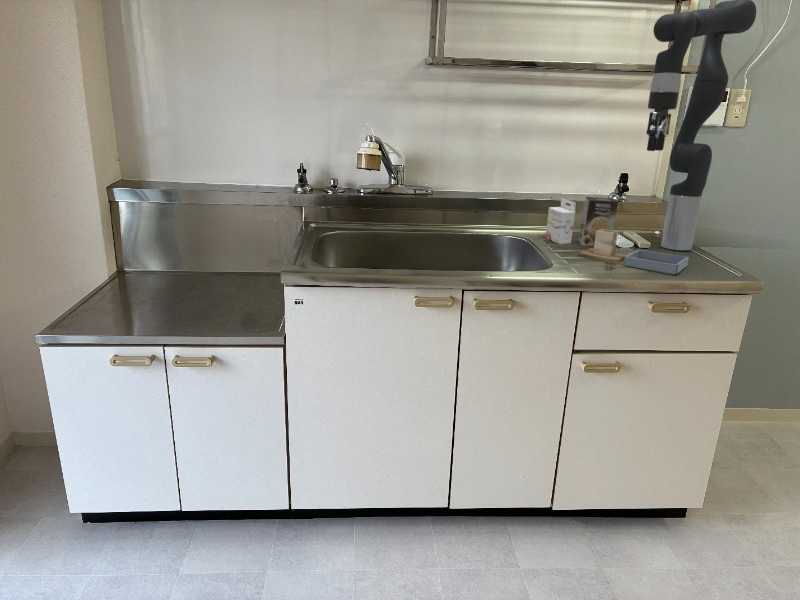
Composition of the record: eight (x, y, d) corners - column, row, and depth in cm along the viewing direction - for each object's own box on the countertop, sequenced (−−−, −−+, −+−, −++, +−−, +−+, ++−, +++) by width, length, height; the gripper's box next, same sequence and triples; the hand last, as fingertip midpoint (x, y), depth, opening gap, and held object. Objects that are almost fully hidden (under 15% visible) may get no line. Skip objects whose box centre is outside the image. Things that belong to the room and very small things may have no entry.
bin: (636, 257, 177) (638, 249, 177) (687, 265, 169) (689, 257, 168) (622, 265, 166) (623, 256, 165) (676, 274, 158) (678, 265, 157)
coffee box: (581, 248, 187) (588, 199, 181) (577, 244, 193) (584, 196, 187) (610, 250, 186) (618, 201, 181) (605, 245, 192) (613, 197, 187)
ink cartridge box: (543, 241, 196) (549, 198, 190) (555, 240, 197) (561, 197, 192) (558, 247, 188) (565, 203, 183) (571, 246, 190) (577, 202, 185)
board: (590, 251, 183) (591, 247, 183) (629, 257, 177) (629, 253, 176) (577, 257, 174) (577, 253, 174) (616, 263, 167) (617, 259, 167)
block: (598, 251, 178) (601, 228, 176) (614, 253, 176) (618, 230, 174) (593, 253, 175) (596, 230, 172) (609, 256, 172) (613, 232, 170)
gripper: (657, 92, 169) (648, 149, 173) (643, 89, 158) (634, 150, 162) (684, 92, 164) (674, 151, 169) (672, 89, 153) (662, 151, 158)
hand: (654, 150), depth 166 cm, fingers open, 8 cm apart
